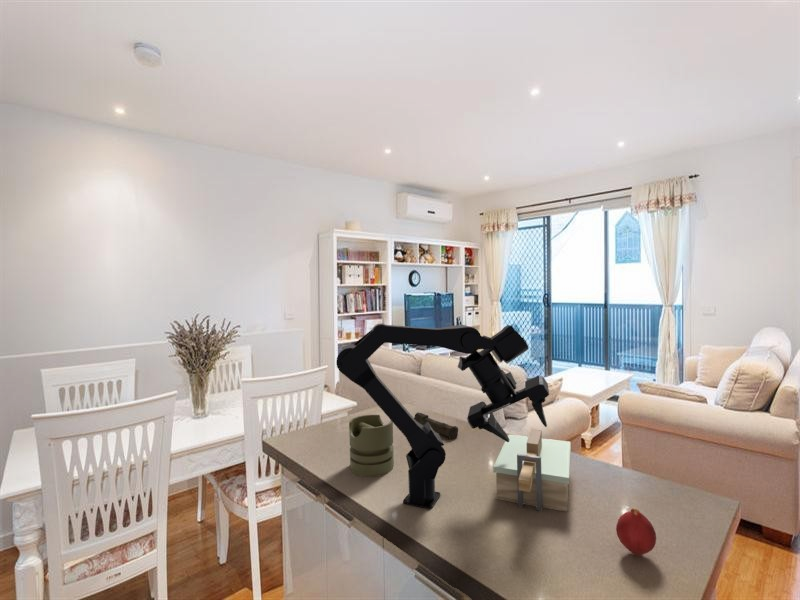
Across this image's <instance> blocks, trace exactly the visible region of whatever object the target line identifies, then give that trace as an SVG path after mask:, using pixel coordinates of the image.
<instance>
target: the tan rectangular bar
mask: <svg viewBox="0 0 800 600" xmlns="http://www.w3.org/2000/svg"><path fill="white" fill-rule="evenodd" d="M526 455H531V456H537V453H532V452H527V454H526ZM535 468H536V462H529V461H524V463H523V467H522V470H521V473H520V476H519V490H521V491H527V492H530V489H531V485H532V481H533V477H534V472H535Z"/></svg>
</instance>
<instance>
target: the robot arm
mask: <svg viewBox="0 0 800 600" xmlns="http://www.w3.org/2000/svg"><path fill="white" fill-rule="evenodd" d="M387 343H388V344H401V345H416V346H431V347H440V348H443V349H446V350H450V351H454V352H458V353H462V354H466V355H467V356H465V357H464V356H462V355H461V356H459V360H458V364H457V368H458V369H459V370H461V371H462V372H464V371H466V370H468V369H469V370H470V371H471V374H472V375H473V376H474V378H475V380H476V381H477V383H478V384H479V386H480V387H481V389H480V390H481V391H482V393H483V394H485V395H486V396H487V398H488V400H489V402H491V403H489V404H486V402H485V401H484V400H483V401H480V402H478V403H475V404H473V405H471V406H470V407H469V410H468V414H467V417H466V420H467V423H468V424H469V426H470V428H471V429H476V428H478V430H482V429H483V430H486V431H487V432H489V433H491V434H493V435H495V436H497V437H499V438H500V439H502V440H503V441H504V442H505V441H506V442H509V438H508V434H507V433H506V431H505V430H504V428H503V427H502V426H501V424H499V421H497V420H496V418H495V415H494V412H497V411H499V410H502V409H504V408H506V407H509V406H511V405H513V404H515V403H518V402H520V401H522V400H523V399H526V398H528V399H529V401H531V406H532V408H533V410H534V411H535V413H536V416H537V417H538V418H539V421H540V422H541V424H542V425H543V426H544V427H545V428H547V427H548V424H547V421H546V416H545V413H544V409H543V403H545V402H546V399H547V397H549V395H550V391H549V389H550V388H549V383H548V382H547V380H546V379H545V377H544V376H542V375H537V376H535V377H532V378H530V379H528V380H526V381H524V388H522V389H520V390H517V391H515V390H516V389H517V386H516V385H517V382H516V380H515V378H514V376H513V374H512V373H511V371H509V372H507V373H506V372H505V371H504V370H503V369H501V366H499V364H498V362H499V363H502V362H504V363H505V364H506V365H507V364H509V363H511V362H512V361H514V360H515V359H517V358H518V357H520V356H521V355H522V354H524V353H526V352H527V351H528V350H529V348H530V347H529V345H528V342H527V341H526V339H525V338H524V337H522V335H521V334H520V333H519V332H518V331H517V330H516V329H514V327H513V325H511V324H507V325H505V326H504V327H503V328H502V329H501V330H500V331H498V332H496V333H495V334H494V335H492V336H491V337H490V336H487V335H481V333H480V331H478V329H477V328H475V327H473V326H468V325H466V324H459V325H451V326H449V325H448V326H443V327H437V328H436V327H422V326H421V327H420V326H408V325H394V324H385V323H377V324H375V325H374V326H373V328H372V329H371V330H369V331H368V332H367V333H366V334H364V335H363V336H362V337H360V339H358V340H357V341H356V342H354V343H353V344H347V345H345V346H343V347H342V348H341V349H340V351H339V353H338V355H337V358H336V367H337V369H338V371H339V372H340V373H341V374H342V375H343V376H344V377H346V378H347V379H348V380H349V381H351V382H353V383H354V384H356V385H358V386H359V387H360V388H361V389H363V390H364V391H365V392H366V393H367V394H368V396H369V397H370V398H371V399H372V400H373V401H374V402H375V404H376V405H377V406H378V407H379V408H380V409H381V411H382V412H383V413H384V414H385V415H386V416H387V417H388V418H389V419H390V421H392V422H393V425H395V426H396V428H397V429H398V430H399V431H400V432H401V434H402V435H403V436H404V437H405V439H406V441H407V442H408V444H409V446H410V447H411V450H409V451H408V452H407V454H405V457H406V461H407V466H408V473H407V475H408V476H407V477H408V480H407V481H408V494H407V495H405V497H404V499H403V500H402V503H403V504H405V505H409V506H410V505H411V506H415V507H421V508H425V509H432V508H433V507H434V506H435V504H436V503H437V501H438V499H439V498H440V496H441V492H440V491H436V477H437V475H438V471H439V468H440V467H442V466H443V464H444V463H445V461H446V451H445V448H444V447H443V446H444V445H445V444H444V441H443V440H442V437H441V436H440V435H441V434H439V433H437V432H435V431H434V430H433V429H432V428H431V426H430V424H429V423H428V422H427V423H426V424H425V425H424V426H423V425H421V424H420V423H418V422H417V421H416V420H415V419H414V416H413V415H412V414H411V413H410V412H409V411H408V410H407V408H405V406H404V405H403V404H402V402H400V400H399V399H398V398H397V397H396V396H395V395H394V394H393V392H392V391H391V390H390V389H389V387H387V385H386V384H385V383H384V381H383V380H382V379H381V378H380V377H379V376H378V375H377V374H376V371H375V369H374V367H373V366H372V364H371V361H370V360H369V359H370V358H371V357H372V356H373V355H374V353H375V352H377V350H378V349H380V348H381V346H383V345H384V344H387ZM478 350H481V351H478ZM493 356H494V357H495V358H494V357H493ZM497 361H498V362H497Z"/></svg>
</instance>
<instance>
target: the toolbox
mask: <svg viewBox="0 0 800 600" xmlns="http://www.w3.org/2000/svg"><path fill="white" fill-rule="evenodd" d="M495 473H496V472H495ZM495 477H496V478H495V479H496V500H500V501H506V502H510V503H515V504H516V503H517V504H518V484H517V476H516V475H509V474H503V473H496V476H495ZM568 495H569V484H567V483H561V482H554V481H548V480H542V509H543V508H544V509H550V510H556V511H560V512H566V513H567V512H568V497H569V496H568ZM523 505H527V506H533V507H537V500H536V479H535V478H533V481H532V485H531V489H530V492H527V491H523Z"/></svg>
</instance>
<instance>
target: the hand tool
mask: <svg viewBox="0 0 800 600" xmlns="http://www.w3.org/2000/svg"><path fill="white" fill-rule="evenodd" d="M413 418H414V419H415V420H416V421H417V422H418V423H420V424H421V425H423V426H424V425H425V424H426V423H427V422H428V423H429V424H430V426H431V428H432V429H433V430H434V431H435V432H437V433H439V435H442V436H443V437H447V438H448V439H449V440H450V441H451V440H455V439H457V437H458V435H459V428H458V426H455V425H454V426H453V425H450V424H448V423H445V422H440V421H438V420H436V419H432V418H430V417H429V415H427V414H425V413H422V412H416V413H415V415H414V416H413Z"/></svg>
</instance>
